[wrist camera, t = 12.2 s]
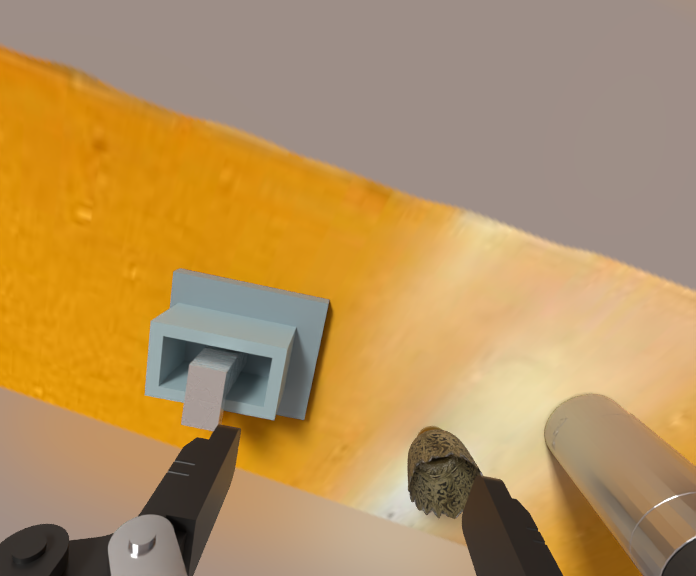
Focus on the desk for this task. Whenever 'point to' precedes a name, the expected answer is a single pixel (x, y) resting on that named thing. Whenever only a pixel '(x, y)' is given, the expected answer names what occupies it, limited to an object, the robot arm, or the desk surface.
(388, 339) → the desk surface
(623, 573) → the desk surface
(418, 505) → the cup
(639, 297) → the desk surface
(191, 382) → the grey painted wood block
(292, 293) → the well board
